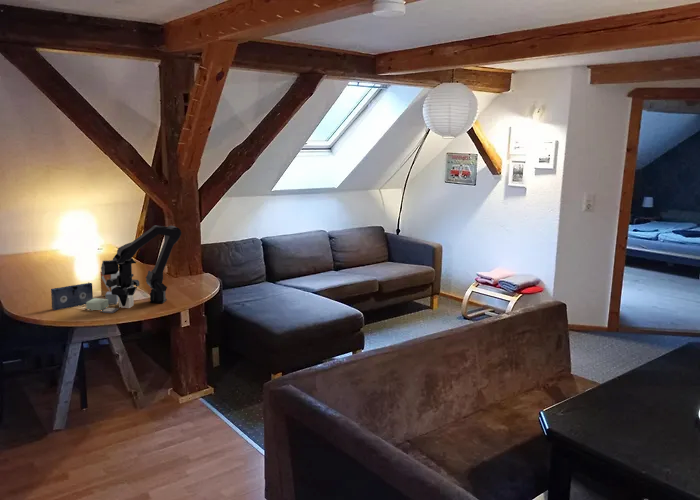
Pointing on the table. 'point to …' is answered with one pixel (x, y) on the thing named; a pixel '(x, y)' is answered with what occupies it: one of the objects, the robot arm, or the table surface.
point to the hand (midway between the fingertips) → (126, 304)
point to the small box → (103, 283)
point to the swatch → (109, 310)
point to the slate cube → (111, 298)
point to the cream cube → (127, 302)
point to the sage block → (97, 304)
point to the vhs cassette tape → (71, 296)
